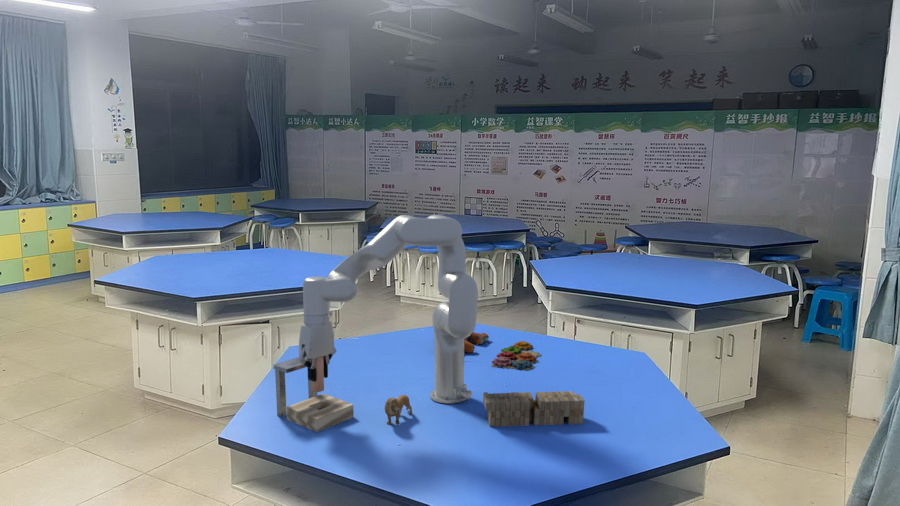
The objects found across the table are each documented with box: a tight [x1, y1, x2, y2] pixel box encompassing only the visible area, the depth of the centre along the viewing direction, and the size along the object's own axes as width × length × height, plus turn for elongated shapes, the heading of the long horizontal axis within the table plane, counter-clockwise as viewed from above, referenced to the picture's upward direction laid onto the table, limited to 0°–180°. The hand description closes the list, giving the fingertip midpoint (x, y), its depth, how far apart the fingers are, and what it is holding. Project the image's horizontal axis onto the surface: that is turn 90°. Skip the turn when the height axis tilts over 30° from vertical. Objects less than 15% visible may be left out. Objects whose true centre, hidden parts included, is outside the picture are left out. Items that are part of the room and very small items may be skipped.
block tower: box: [482, 390, 585, 428], centre depth 193 cm, size 8×8×29 cm
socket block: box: [286, 393, 355, 433], centre depth 195 cm, size 14×14×4 cm
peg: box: [312, 356, 325, 393], centre depth 193 cm, size 4×4×11 cm
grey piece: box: [273, 356, 319, 418], centre depth 199 cm, size 6×15×16 cm, turn 140°
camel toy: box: [464, 331, 490, 354], centre depth 265 cm, size 25×13×17 cm
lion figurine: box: [384, 394, 413, 426], centre depth 193 cm, size 15×5×9 cm, turn 164°
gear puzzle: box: [491, 340, 542, 371], centre depth 253 cm, size 31×16×4 cm, turn 162°
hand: (317, 378), depth 193 cm, fingers closed on peg, 3 cm apart
